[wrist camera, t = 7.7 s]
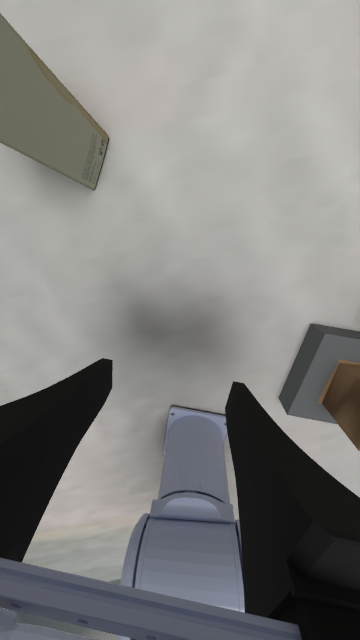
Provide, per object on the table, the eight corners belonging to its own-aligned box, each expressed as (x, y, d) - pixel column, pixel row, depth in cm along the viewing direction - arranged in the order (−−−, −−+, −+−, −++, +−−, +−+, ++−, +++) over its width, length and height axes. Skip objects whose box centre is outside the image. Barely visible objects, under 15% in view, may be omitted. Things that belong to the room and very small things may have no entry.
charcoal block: (359, 410, 24) (380, 432, 21) (277, 395, 24) (287, 414, 21) (405, 338, 20) (439, 353, 17) (308, 321, 20) (325, 333, 17)
